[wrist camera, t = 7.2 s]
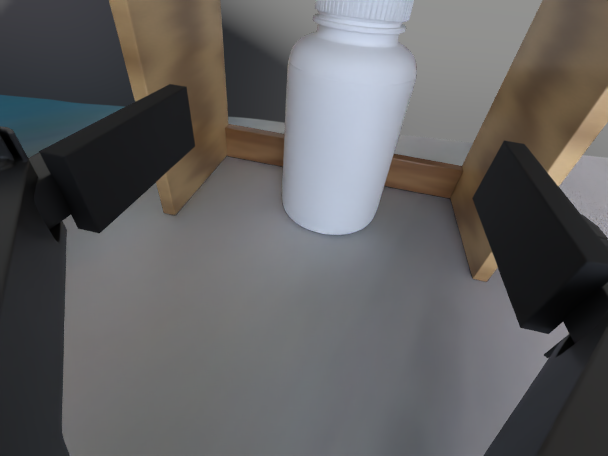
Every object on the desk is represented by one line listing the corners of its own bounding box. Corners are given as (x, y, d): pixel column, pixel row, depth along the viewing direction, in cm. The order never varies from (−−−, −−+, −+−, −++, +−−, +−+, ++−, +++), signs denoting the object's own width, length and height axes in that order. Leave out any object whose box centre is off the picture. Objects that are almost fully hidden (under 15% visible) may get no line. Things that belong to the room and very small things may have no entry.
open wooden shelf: (487, 282, 21) (896, -258, 8) (163, 213, 24) (29, -303, 10) (459, 195, 30) (631, -140, 16) (221, 150, 32) (192, -178, 18)
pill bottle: (325, 172, 30) (357, -23, 21) (392, 213, 26) (471, -6, 17) (260, 199, 26) (262, -32, 16) (329, 254, 22) (386, -12, 12)
